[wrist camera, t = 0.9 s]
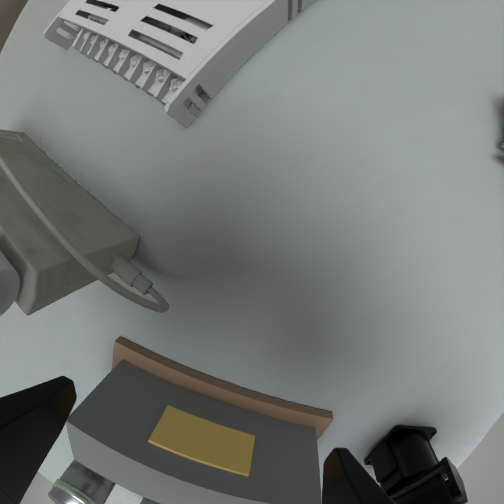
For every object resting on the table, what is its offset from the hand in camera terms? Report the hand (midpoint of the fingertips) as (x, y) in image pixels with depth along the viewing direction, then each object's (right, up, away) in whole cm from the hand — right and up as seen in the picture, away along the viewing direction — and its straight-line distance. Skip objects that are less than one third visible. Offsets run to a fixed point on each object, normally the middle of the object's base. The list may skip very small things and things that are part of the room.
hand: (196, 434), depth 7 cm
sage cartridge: (-16, -18, +19) cm, 30 cm away
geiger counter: (-13, +10, +13) cm, 21 cm away
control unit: (-2, -9, +15) cm, 18 cm away
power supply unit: (0, +33, +8) cm, 34 cm away
